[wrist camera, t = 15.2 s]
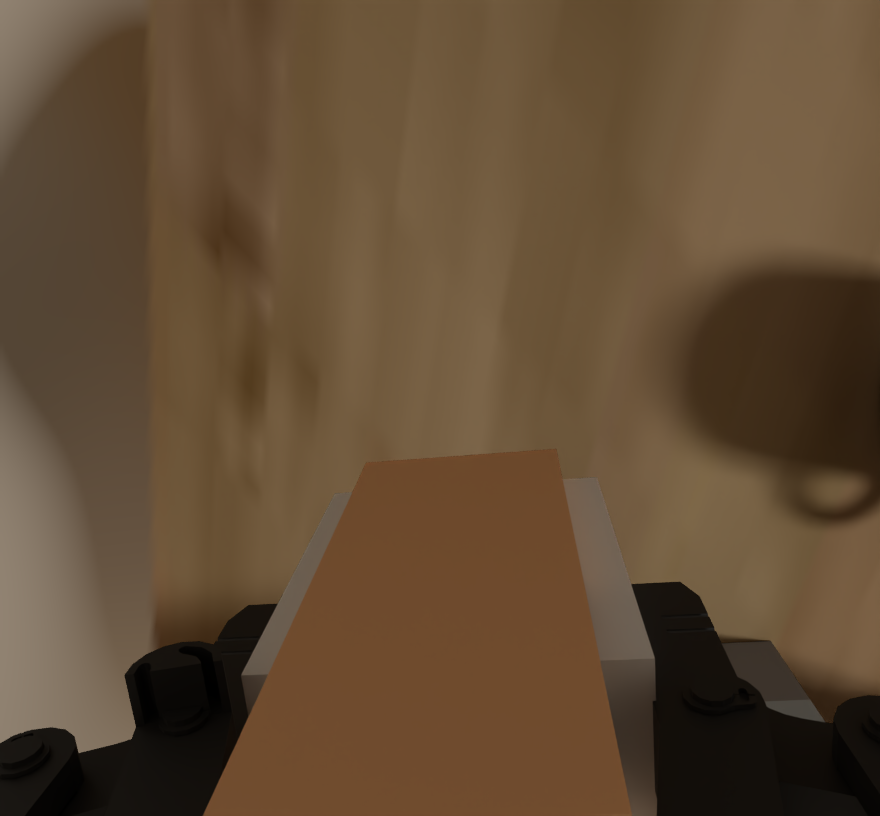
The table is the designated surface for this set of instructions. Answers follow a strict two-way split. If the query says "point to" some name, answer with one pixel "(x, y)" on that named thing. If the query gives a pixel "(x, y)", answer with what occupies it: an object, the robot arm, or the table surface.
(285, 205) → the table surface
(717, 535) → the table surface
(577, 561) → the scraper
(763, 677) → the cabinet
